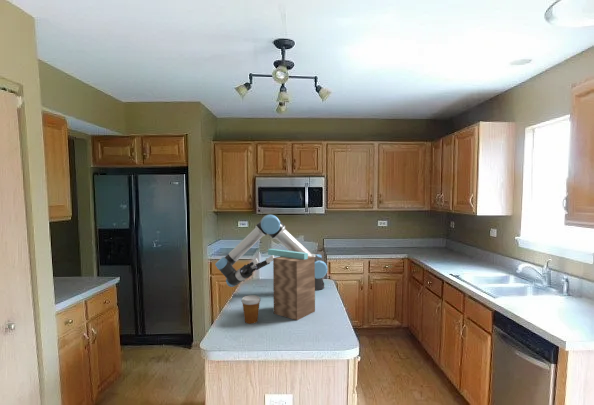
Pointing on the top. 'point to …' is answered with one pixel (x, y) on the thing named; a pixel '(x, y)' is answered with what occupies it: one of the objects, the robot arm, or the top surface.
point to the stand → (294, 286)
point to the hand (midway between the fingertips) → (265, 258)
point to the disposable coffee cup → (251, 308)
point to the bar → (288, 254)
